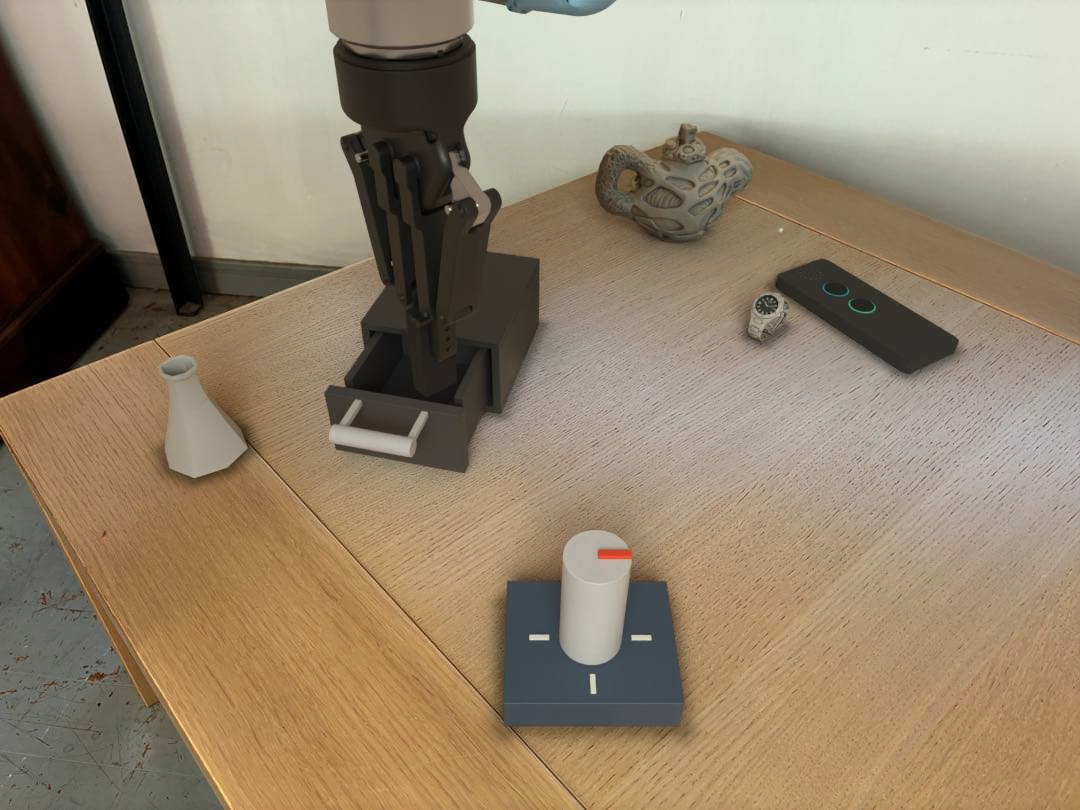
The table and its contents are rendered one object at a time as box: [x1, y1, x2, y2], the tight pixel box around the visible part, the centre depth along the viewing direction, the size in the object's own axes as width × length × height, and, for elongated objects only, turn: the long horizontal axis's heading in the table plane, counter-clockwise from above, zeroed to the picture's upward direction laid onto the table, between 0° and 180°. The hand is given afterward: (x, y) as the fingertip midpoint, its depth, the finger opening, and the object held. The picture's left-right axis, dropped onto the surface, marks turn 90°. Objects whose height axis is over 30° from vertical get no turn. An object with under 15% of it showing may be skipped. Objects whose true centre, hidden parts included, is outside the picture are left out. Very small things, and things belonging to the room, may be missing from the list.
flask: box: [157, 353, 249, 479], centre depth 74 cm, size 7×7×10 cm
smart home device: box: [775, 258, 960, 375], centre depth 94 cm, size 8×2×20 cm
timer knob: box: [559, 529, 633, 665], centre depth 55 cm, size 4×4×9 cm
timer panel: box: [502, 580, 685, 727], centre depth 59 cm, size 12×10×3 cm
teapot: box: [594, 122, 754, 243], centre depth 104 cm, size 21×12×15 cm, turn 108°
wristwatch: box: [747, 290, 791, 343], centre depth 90 cm, size 4×6×5 cm, turn 137°
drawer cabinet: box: [359, 250, 541, 415], centre depth 85 cm, size 16×14×9 cm
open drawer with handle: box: [324, 331, 493, 474], centre depth 76 cm, size 20×12×7 cm, turn 166°
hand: (435, 384), depth 59 cm, fingers closed
